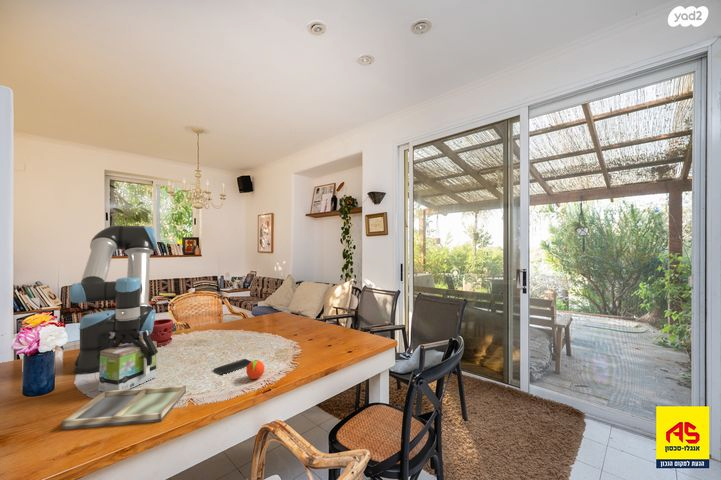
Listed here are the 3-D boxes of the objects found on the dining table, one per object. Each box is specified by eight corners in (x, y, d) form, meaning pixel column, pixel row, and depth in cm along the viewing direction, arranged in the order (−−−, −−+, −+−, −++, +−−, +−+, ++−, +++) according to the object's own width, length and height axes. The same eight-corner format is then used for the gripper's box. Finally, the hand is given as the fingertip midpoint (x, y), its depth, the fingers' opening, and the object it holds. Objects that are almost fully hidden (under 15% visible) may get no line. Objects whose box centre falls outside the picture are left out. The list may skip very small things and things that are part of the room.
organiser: (61, 429, 90) (61, 421, 90) (104, 397, 108) (104, 391, 108) (161, 421, 94) (161, 413, 94) (185, 392, 113) (185, 385, 113)
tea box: (118, 395, 110) (119, 353, 110) (98, 391, 113) (98, 350, 113) (157, 377, 125) (157, 340, 125) (138, 374, 127) (138, 338, 127)
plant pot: (157, 339, 172) (157, 318, 173) (178, 341, 171) (178, 319, 171) (137, 347, 160) (137, 324, 160) (160, 349, 158) (160, 325, 158)
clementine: (262, 382, 120) (262, 364, 120) (244, 384, 119) (244, 365, 119) (265, 374, 128) (265, 356, 128) (248, 375, 127) (248, 357, 127)
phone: (212, 369, 131) (244, 358, 143) (212, 371, 131) (244, 361, 143) (222, 373, 126) (254, 362, 138) (222, 376, 126) (254, 365, 138)
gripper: (84, 322, 113) (84, 381, 113) (158, 319, 117) (158, 377, 116) (98, 317, 120) (98, 373, 120) (167, 314, 124) (167, 369, 124)
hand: (127, 375), depth 118 cm, fingers closed on tea box, 12 cm apart
